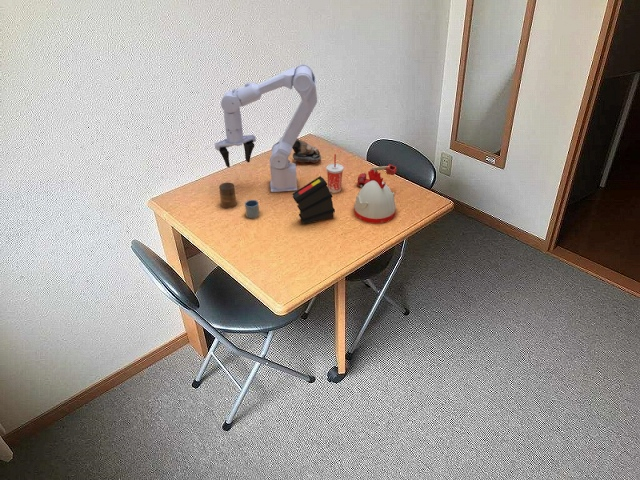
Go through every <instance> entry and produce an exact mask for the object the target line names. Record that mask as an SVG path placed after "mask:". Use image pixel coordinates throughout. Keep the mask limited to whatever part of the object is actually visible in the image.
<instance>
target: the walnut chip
mask: <svg viewBox="0 0 640 480" xmlns="http://www.w3.org/2000/svg"><path fill="white" fill-rule="evenodd" d="M218 189H219V195H220V194H221V195H222V196H231V195H233V194H234V193H235V194H236V187H235V183H233V182H223V183H221V184H220V185H219V186H218Z"/></svg>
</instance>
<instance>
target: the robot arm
mask: <svg viewBox="0 0 640 480" xmlns="http://www.w3.org/2000/svg"><path fill="white" fill-rule="evenodd" d="M316 82H317V81H316V76H315V74H314V71H313V69H312V68H311V67H310V66H309V65H308V64H300V65H298V66H293V67H291V68H289V69H287V70H284V71H283V72H280V73H279V74H277V75H275V76H273V77H269V78H268V79H267V80H264V81H262V82H260V83H256V82H249V81H247V82H245V83H244V85H243V86H240V87H239V88H233V89H231V90H228V91H226V92H225V93H224V94H223V96H222V99H221V101H220V106H221V109H222V110H223V120H224V128H225V137H226V138H225V139H223V140H220V141H217V142H214V149H215V150H216V151H218V152H219V153H220V155H221V156H222V159H223V161H224V163H225V166H226V167H227V168H230V167H231V163H230V151H229V150H228V148H230V147H234V146H236V147H240V146H242V145H243V148H244V158H245V162H247V163H250V162H251V156H252V153H253V151H254V148H255V143H254V142H257V138H256V135H255V134H248V135H247V134H246V135H244V131H243V122H242V114H241V107H245V106H247V105H250V104H252V103H254V102H257V101H259V100H260V99H261V98H262V95H264V94H267V93H269V92H271V91H275V90H277V89H279V88H283V87H284V88H287V89H289V90H293V88H294V89H295V91H296V92H297V93H298V94H299V96H300V100H301V101H300V102H299V104H298V106H297V108H296V109H295V112H294V113H293V115H292V117H291V118H290V121H289V123H288V125H287V126H286V129H284V132H283V133H282V135H281V137H280V138H279V139H278V141H277V142H275V143H274V144H273V145H272V147H271V155H270V157H269V166H270V167H269V168H270V181H269V185H270V192H271V193H279V192H280V193H281V192H291V191H292V192H293V191H294V192H296V191H297V190H298V175H297V164H296V163H295V162H291V161H290V160H289V157H290V155H291V152H292V150H293V148H292V147H293V145H294V143H295V141H296V139H299V138H298V137H299V136H300V134H301V132H302V130H303V128H304V127H305V125H306V123H307V122H308V120H309V118H310V116H311V114H312V112H313V110H314V109H315V107H316V105H317V103H318V94H317V93H318V91H317V85H316V84H317V83H316Z"/></svg>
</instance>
